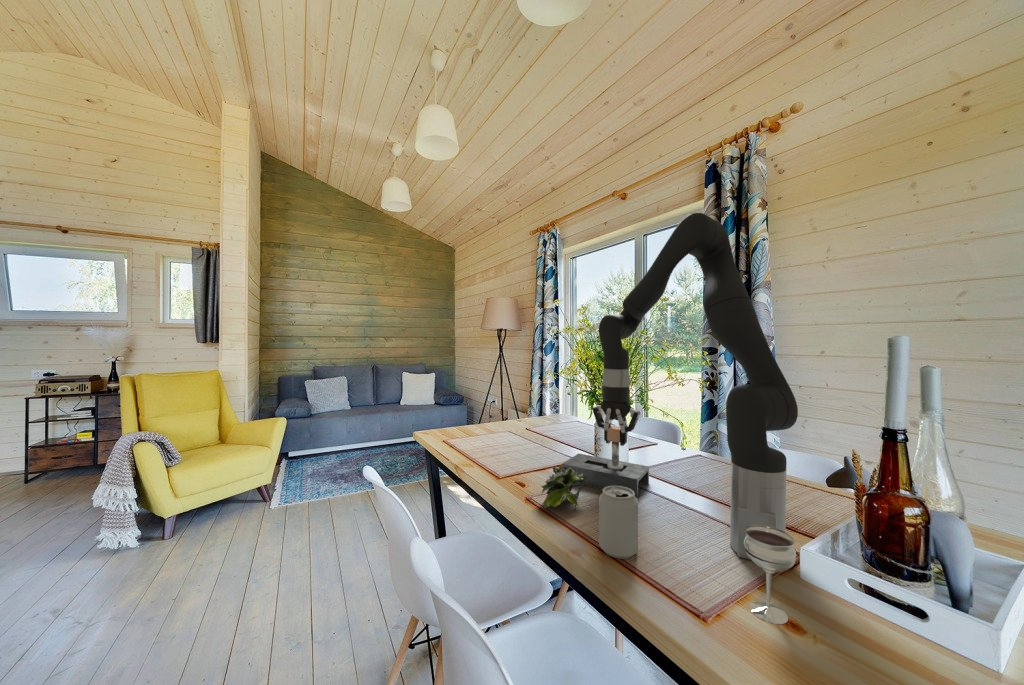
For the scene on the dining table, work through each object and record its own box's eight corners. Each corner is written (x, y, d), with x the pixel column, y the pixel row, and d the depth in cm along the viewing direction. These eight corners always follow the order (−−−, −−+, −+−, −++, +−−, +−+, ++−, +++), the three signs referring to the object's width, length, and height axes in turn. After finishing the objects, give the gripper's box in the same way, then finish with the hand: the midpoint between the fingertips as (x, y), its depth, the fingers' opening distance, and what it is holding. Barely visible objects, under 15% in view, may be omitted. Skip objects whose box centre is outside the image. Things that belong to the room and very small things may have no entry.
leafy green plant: (559, 518, 102) (574, 475, 107) (587, 528, 93) (602, 480, 97) (527, 501, 98) (545, 456, 103) (553, 509, 89) (571, 460, 94)
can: (617, 565, 72) (617, 501, 72) (591, 545, 79) (591, 487, 78) (646, 554, 75) (646, 493, 75) (619, 536, 82) (619, 480, 82)
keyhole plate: (637, 498, 102) (637, 479, 102) (561, 480, 114) (561, 463, 114) (648, 483, 112) (649, 466, 112) (578, 468, 124) (578, 453, 124)
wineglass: (776, 634, 55) (777, 551, 55) (733, 604, 61) (733, 529, 61) (805, 620, 58) (807, 541, 58) (761, 592, 64) (762, 521, 64)
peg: (620, 473, 108) (620, 430, 108) (605, 470, 111) (605, 428, 110) (625, 468, 112) (625, 427, 112) (610, 465, 114) (610, 425, 114)
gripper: (587, 383, 111) (587, 443, 112) (637, 387, 104) (636, 451, 104) (597, 381, 118) (597, 437, 118) (644, 384, 110) (644, 444, 110)
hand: (615, 443), depth 111 cm, fingers closed on peg, 3 cm apart
